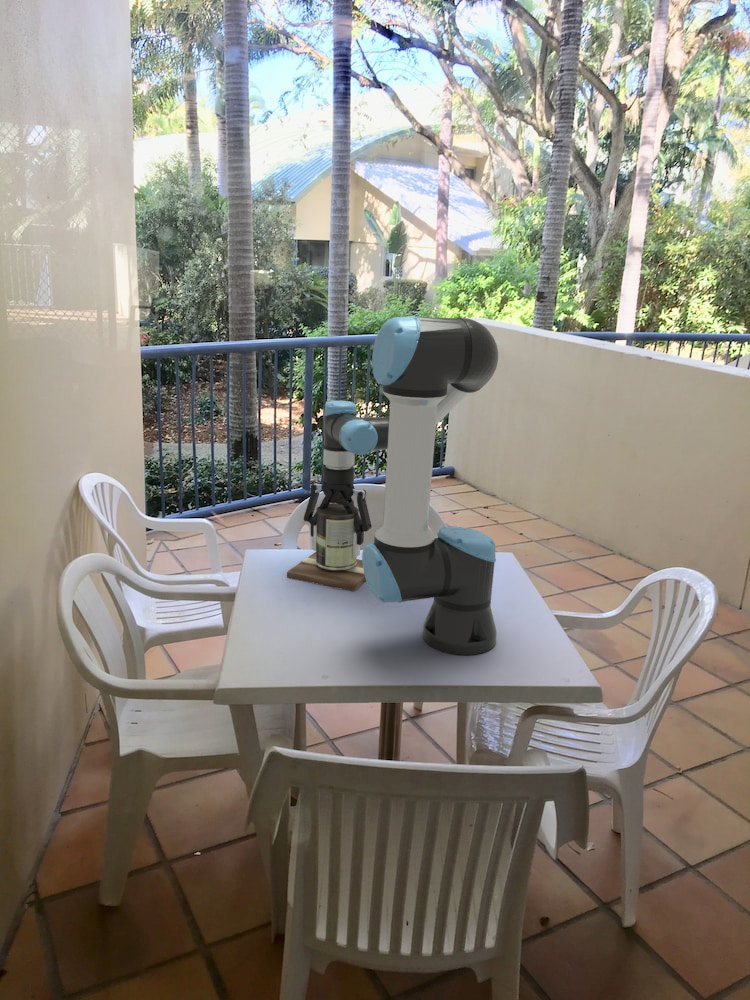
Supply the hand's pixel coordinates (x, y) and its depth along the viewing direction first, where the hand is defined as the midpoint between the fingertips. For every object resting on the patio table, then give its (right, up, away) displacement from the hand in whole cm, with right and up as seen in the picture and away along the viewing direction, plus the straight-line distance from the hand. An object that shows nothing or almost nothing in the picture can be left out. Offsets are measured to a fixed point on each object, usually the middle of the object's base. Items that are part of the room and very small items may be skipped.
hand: (336, 552), depth 185 cm
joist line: (0, -3, +1) cm, 4 cm away
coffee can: (0, -3, +1) cm, 3 cm away
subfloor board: (-1, -5, +1) cm, 5 cm away
